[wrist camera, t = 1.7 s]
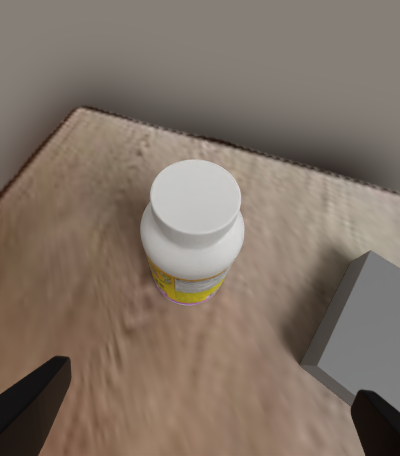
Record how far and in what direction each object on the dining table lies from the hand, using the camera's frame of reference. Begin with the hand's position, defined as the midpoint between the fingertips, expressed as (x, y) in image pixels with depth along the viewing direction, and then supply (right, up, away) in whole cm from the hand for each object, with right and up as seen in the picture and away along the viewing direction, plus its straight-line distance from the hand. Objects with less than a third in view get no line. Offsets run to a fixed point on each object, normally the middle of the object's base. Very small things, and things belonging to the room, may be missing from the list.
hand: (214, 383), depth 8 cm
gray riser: (+16, -6, +14) cm, 22 cm away
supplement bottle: (-2, 0, +16) cm, 16 cm away
